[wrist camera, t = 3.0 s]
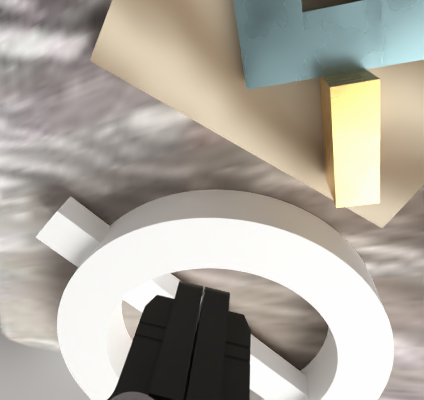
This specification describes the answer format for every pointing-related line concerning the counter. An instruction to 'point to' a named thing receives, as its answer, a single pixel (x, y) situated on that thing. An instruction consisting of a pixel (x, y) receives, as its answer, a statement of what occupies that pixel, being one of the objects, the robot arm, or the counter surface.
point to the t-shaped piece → (334, 73)
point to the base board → (258, 93)
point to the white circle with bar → (224, 259)
